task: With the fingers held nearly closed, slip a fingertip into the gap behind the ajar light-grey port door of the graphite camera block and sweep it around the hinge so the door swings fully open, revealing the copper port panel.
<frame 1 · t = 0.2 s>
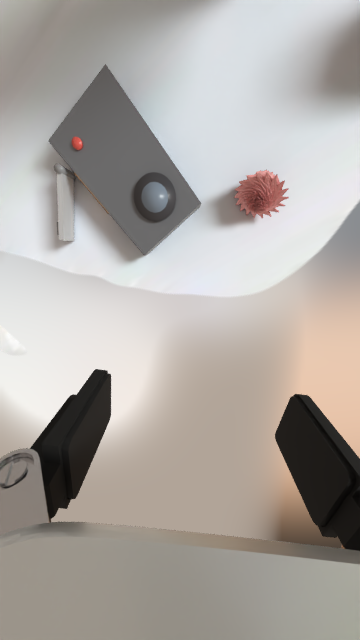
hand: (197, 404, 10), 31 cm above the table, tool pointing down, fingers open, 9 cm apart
flower: (254, 199, 34), on the table
camera body: (133, 180, 33), on the table
port door: (64, 206, 33), point 2 cm above the table, hinge at 50.0°
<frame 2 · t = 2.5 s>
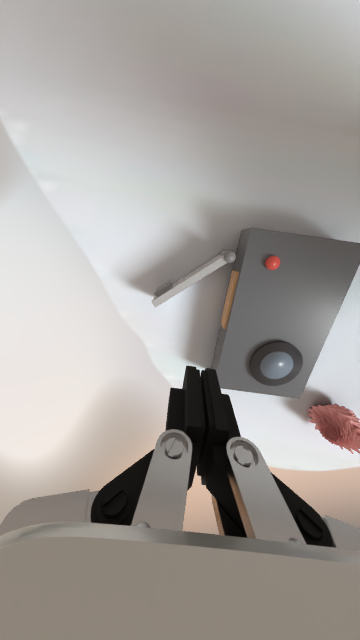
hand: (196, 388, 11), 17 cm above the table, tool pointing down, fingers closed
flower: (323, 410, 33), on the table
camera body: (267, 315, 27), on the table
port door: (190, 276, 24), point 2 cm above the table, hinge at 50.0°
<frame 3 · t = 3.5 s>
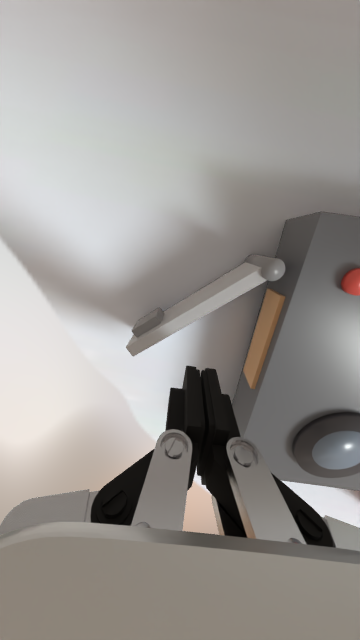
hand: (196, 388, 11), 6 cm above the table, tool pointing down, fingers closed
camera body: (317, 359, 17), on the table
port door: (195, 301, 13), point 2 cm above the table, hinge at 50.0°
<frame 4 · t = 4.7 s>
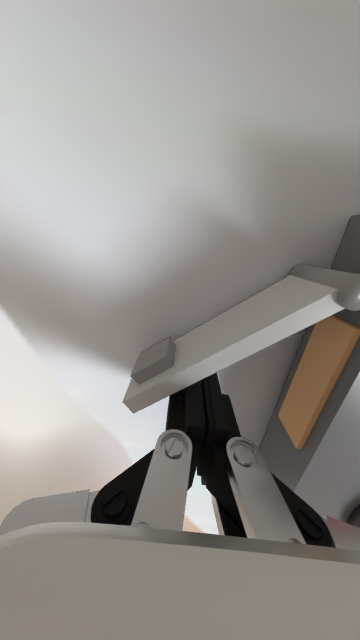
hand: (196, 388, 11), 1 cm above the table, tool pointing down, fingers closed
port door: (222, 332, 9), point 2 cm above the table, hinge at 50.0°, touching gripper
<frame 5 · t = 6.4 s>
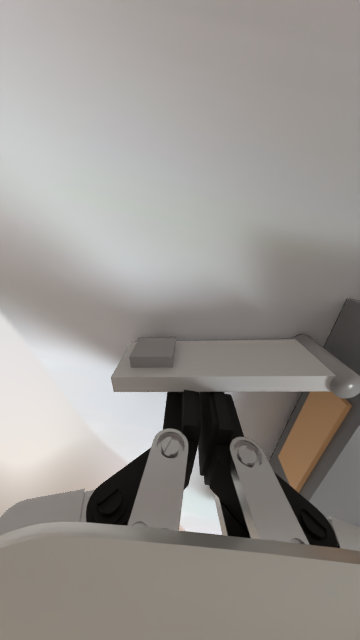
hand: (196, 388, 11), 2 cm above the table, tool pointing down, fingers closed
port door: (225, 358, 10), point 2 cm above the table, hinge at 78.8°, touching gripper
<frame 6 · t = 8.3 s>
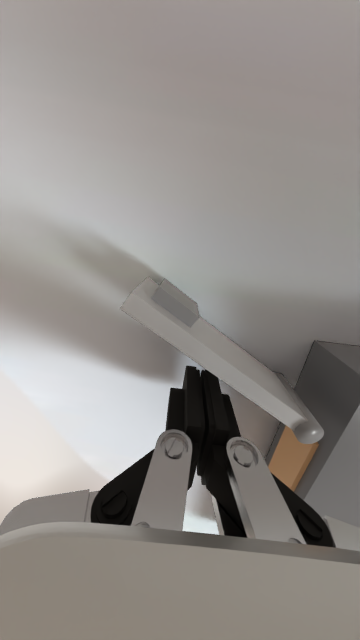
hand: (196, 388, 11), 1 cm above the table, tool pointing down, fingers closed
camera body: (343, 464, 15), on the table
port door: (228, 353, 10), point 2 cm above the table, hinge at 121.1°
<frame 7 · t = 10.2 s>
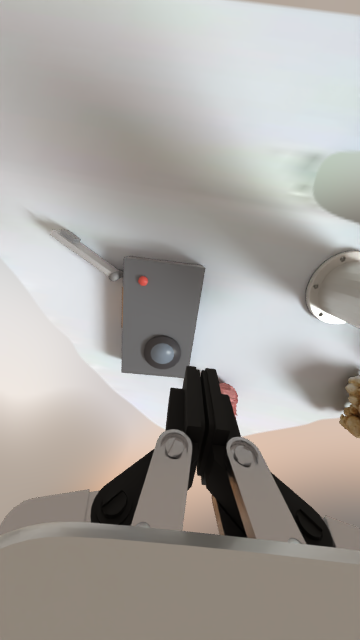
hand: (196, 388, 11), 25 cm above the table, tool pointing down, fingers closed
flower: (219, 388, 43), on the table
camera body: (160, 317, 36), on the table
mineral formation: (349, 394, 44), on the table
port door: (90, 255, 30), point 2 cm above the table, hinge at 121.2°
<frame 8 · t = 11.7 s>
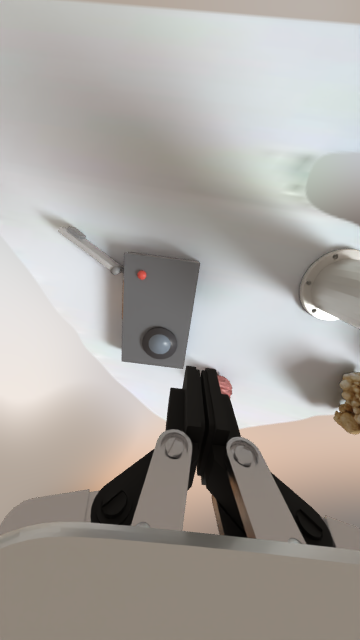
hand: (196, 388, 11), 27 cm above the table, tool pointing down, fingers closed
flower: (215, 381, 44), on the table
camera body: (159, 310, 38), on the table
mineral formation: (345, 391, 44), on the table
port door: (94, 250, 33), point 2 cm above the table, hinge at 121.2°
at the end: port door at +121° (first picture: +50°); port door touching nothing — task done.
